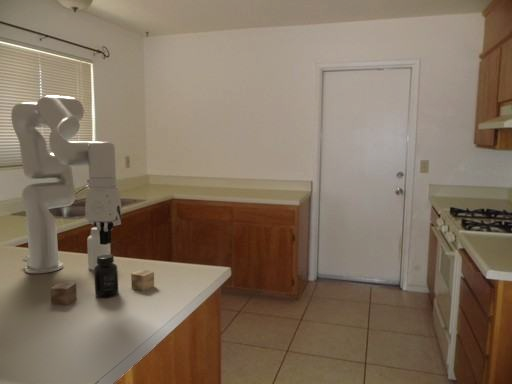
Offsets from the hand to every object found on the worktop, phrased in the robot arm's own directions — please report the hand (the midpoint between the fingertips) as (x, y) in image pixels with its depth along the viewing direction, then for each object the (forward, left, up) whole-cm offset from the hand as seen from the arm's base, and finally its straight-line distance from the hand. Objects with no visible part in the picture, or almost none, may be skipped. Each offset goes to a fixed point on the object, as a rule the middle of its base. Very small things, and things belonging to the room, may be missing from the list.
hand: (105, 243), depth 126 cm
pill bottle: (-20, +22, -16) cm, 34 cm away
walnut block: (-8, -9, -16) cm, 20 cm away
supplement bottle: (0, 0, -16) cm, 16 cm away
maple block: (+7, +9, -16) cm, 20 cm away
